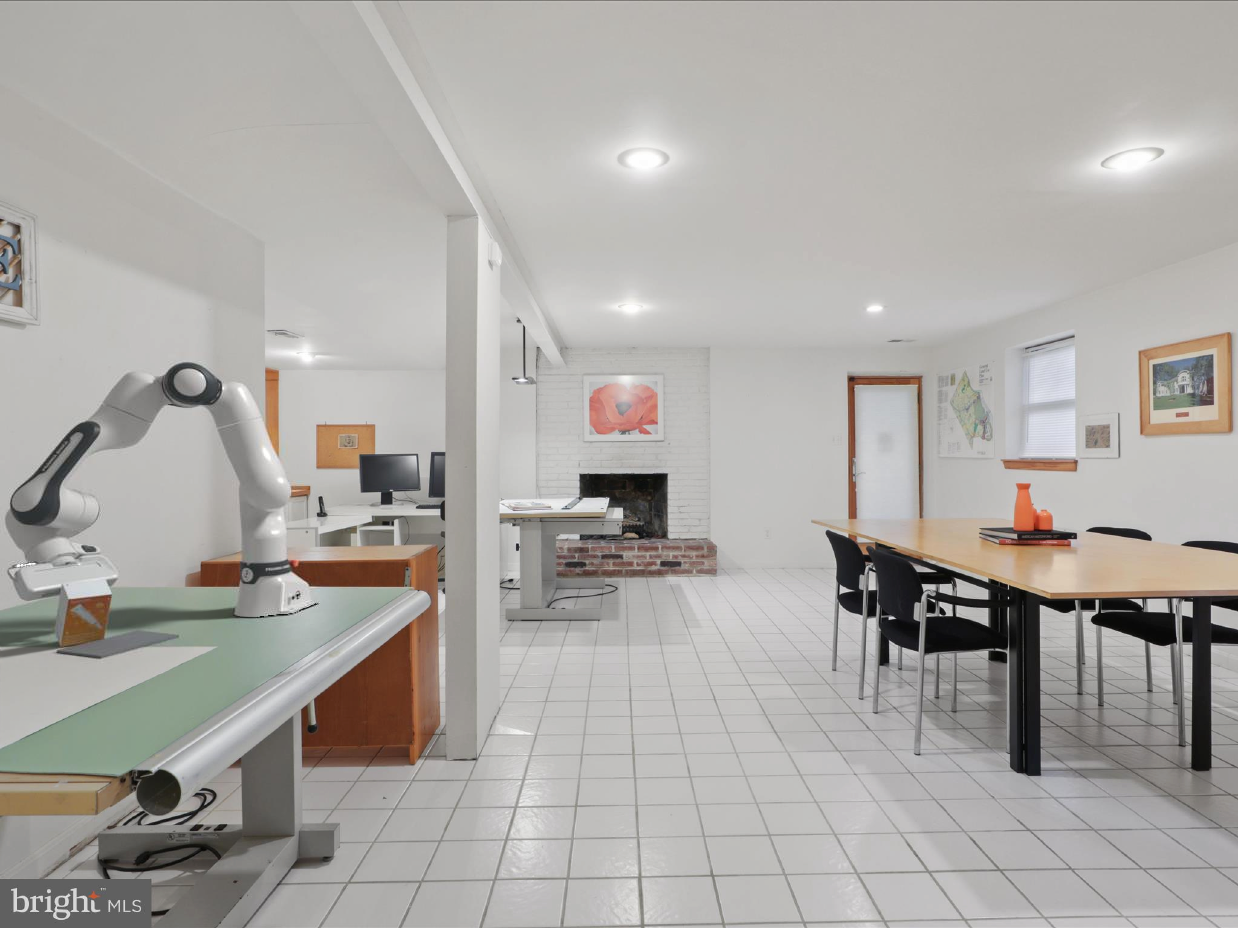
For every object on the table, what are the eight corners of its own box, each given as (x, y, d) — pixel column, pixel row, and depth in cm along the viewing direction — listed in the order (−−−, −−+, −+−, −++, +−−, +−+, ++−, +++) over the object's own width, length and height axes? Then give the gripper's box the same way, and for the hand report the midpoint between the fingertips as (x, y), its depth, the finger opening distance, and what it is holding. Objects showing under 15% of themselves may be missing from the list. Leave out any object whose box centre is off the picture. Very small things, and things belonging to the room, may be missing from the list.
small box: (60, 648, 149) (67, 599, 146) (53, 631, 153) (60, 582, 149) (104, 640, 156) (113, 593, 152) (97, 624, 159) (105, 578, 156)
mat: (137, 632, 163) (137, 630, 163) (178, 636, 159) (178, 634, 159) (56, 652, 146) (56, 650, 146) (100, 658, 142) (101, 655, 142)
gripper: (10, 556, 148) (42, 604, 145) (105, 545, 168) (134, 587, 165) (-4, 575, 149) (27, 623, 147) (92, 562, 169) (121, 604, 166)
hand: (85, 604), depth 156 cm, fingers closed
